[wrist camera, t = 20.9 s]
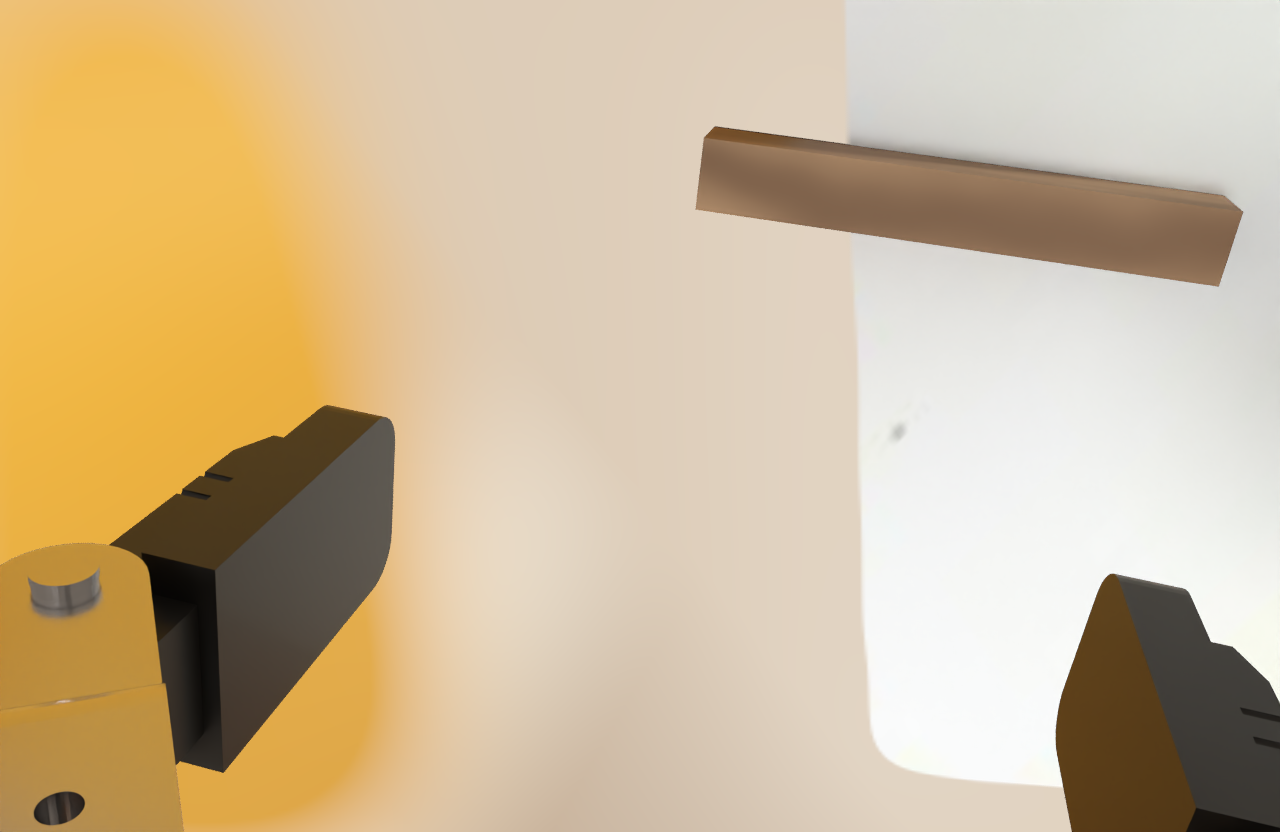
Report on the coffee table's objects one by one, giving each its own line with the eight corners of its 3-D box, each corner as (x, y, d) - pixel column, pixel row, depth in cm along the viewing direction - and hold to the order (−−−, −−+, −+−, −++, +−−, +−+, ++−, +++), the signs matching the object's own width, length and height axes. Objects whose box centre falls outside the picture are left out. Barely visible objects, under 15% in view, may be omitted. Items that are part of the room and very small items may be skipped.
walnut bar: (715, 126, 48) (703, 137, 46) (1222, 194, 45) (1243, 211, 42) (706, 194, 50) (695, 209, 47) (1200, 265, 46) (1218, 286, 44)
